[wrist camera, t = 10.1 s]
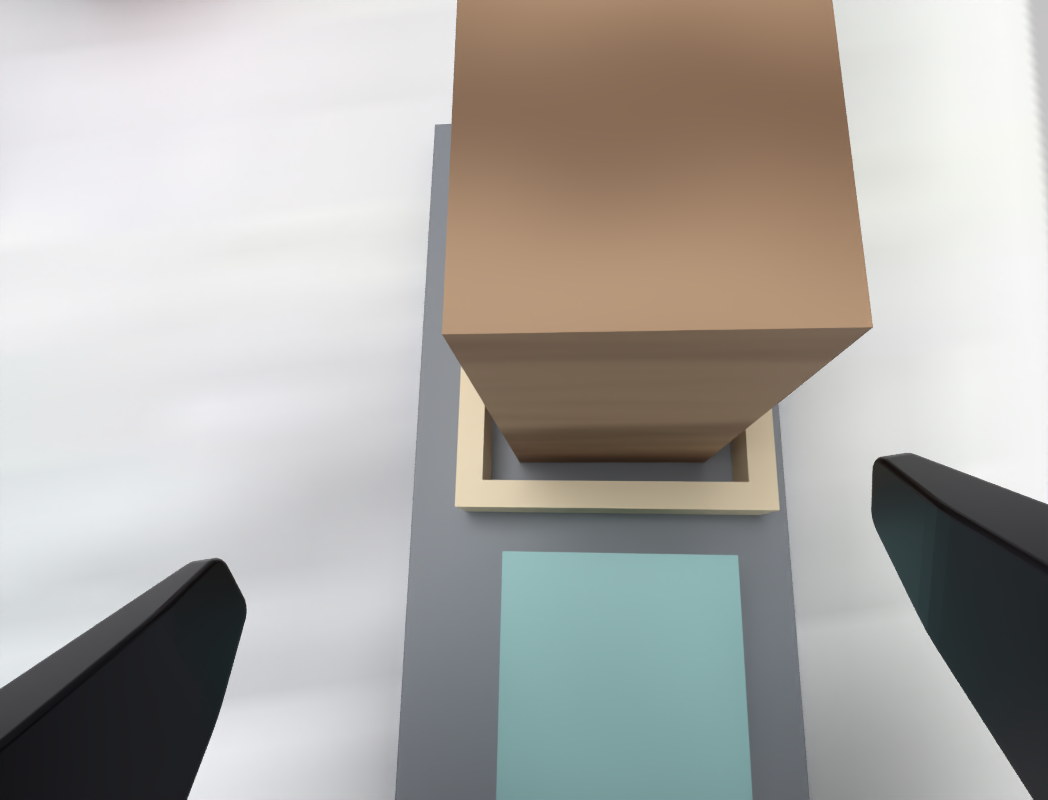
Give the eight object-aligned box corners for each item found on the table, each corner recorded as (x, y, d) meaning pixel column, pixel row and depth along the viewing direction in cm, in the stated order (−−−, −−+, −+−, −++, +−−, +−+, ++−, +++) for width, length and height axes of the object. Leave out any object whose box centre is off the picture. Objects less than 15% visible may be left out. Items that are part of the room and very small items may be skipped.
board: (801, 837, 19) (876, 931, 14) (402, 816, 20) (346, 896, 15) (748, 129, 25) (788, 25, 20) (440, 141, 26) (408, 44, 21)
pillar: (704, 462, 21) (873, 327, 9) (519, 462, 21) (441, 334, 9) (694, 290, 22) (828, -28, 10) (522, 294, 23) (457, -5, 11)
